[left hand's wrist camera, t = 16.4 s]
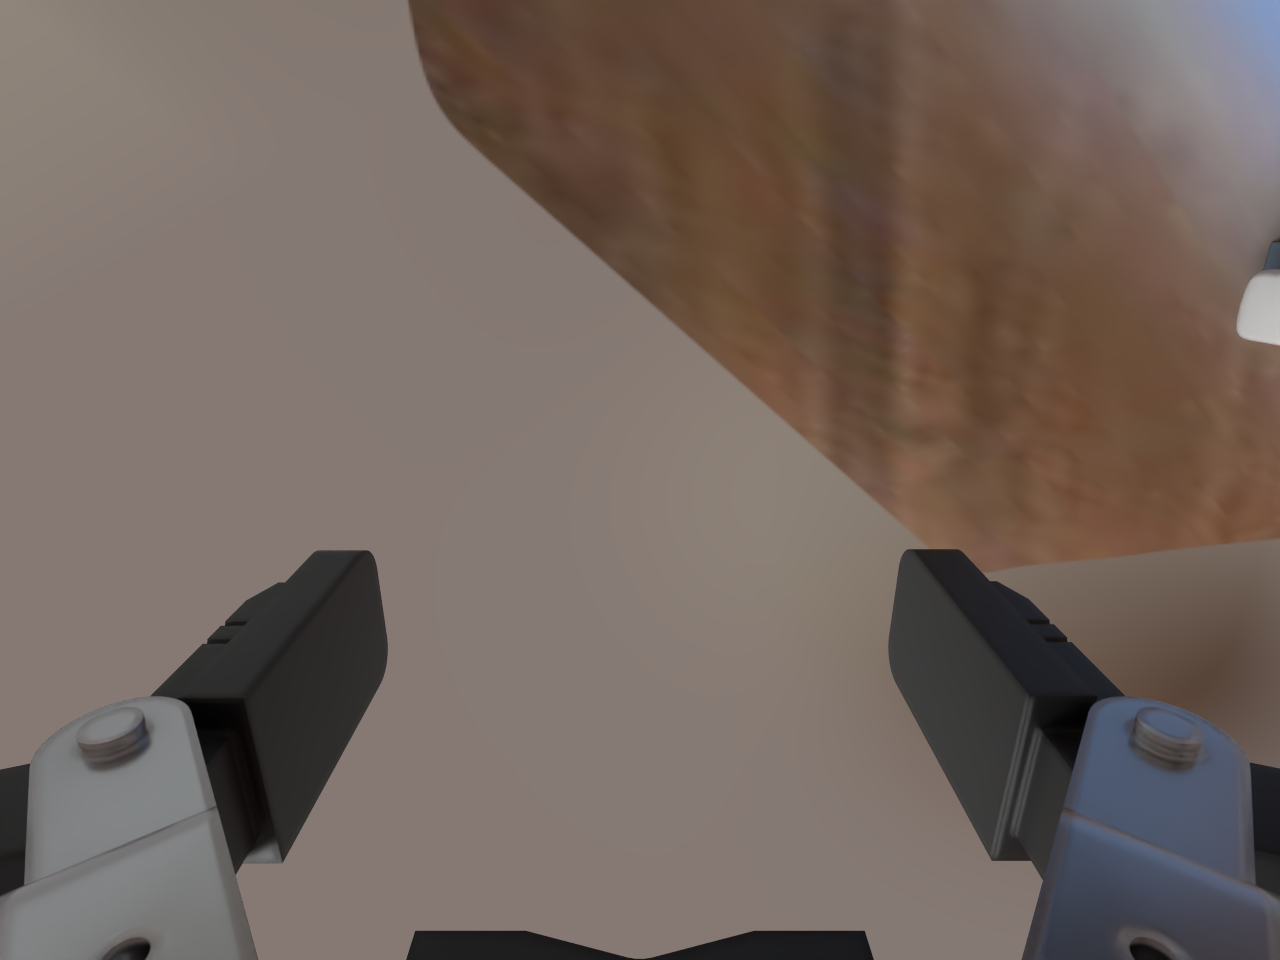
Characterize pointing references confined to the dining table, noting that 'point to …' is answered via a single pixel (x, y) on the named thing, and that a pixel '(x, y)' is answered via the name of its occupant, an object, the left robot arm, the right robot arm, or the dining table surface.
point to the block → (1273, 257)
